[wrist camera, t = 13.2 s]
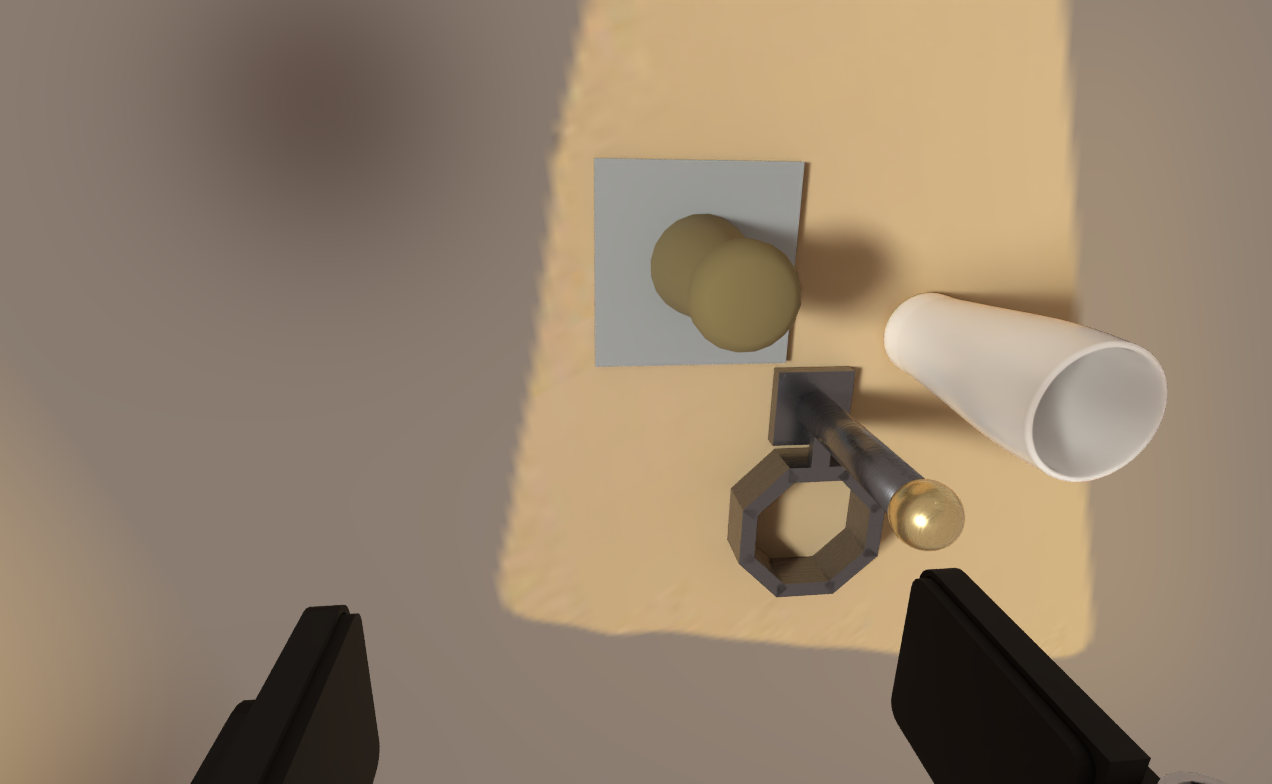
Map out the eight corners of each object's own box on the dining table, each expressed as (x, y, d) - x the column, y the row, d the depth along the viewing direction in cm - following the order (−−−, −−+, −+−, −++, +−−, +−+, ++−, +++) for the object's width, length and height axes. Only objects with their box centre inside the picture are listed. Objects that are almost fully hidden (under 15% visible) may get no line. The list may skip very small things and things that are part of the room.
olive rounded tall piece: (677, 195, 38) (725, 208, 27) (768, 240, 39) (846, 268, 29) (633, 292, 39) (662, 339, 29) (722, 331, 41) (780, 390, 30)
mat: (594, 158, 37) (594, 158, 36) (801, 161, 38) (804, 161, 38) (595, 364, 41) (595, 366, 40) (782, 360, 42) (785, 363, 42)
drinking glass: (970, 271, 42) (1181, 327, 28) (967, 371, 44) (1161, 469, 30) (867, 288, 42) (1030, 354, 27) (870, 389, 44) (1020, 497, 30)
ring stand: (739, 368, 42) (845, 485, 27) (882, 365, 43) (1061, 476, 28) (724, 573, 47) (807, 769, 32) (853, 566, 48) (991, 751, 33)
